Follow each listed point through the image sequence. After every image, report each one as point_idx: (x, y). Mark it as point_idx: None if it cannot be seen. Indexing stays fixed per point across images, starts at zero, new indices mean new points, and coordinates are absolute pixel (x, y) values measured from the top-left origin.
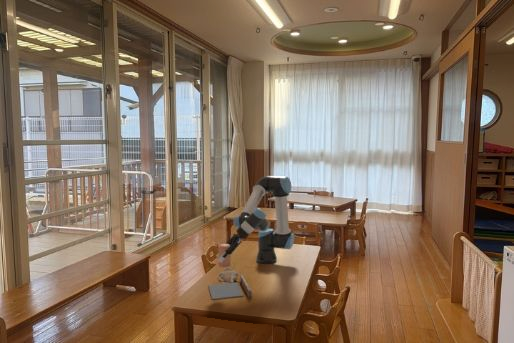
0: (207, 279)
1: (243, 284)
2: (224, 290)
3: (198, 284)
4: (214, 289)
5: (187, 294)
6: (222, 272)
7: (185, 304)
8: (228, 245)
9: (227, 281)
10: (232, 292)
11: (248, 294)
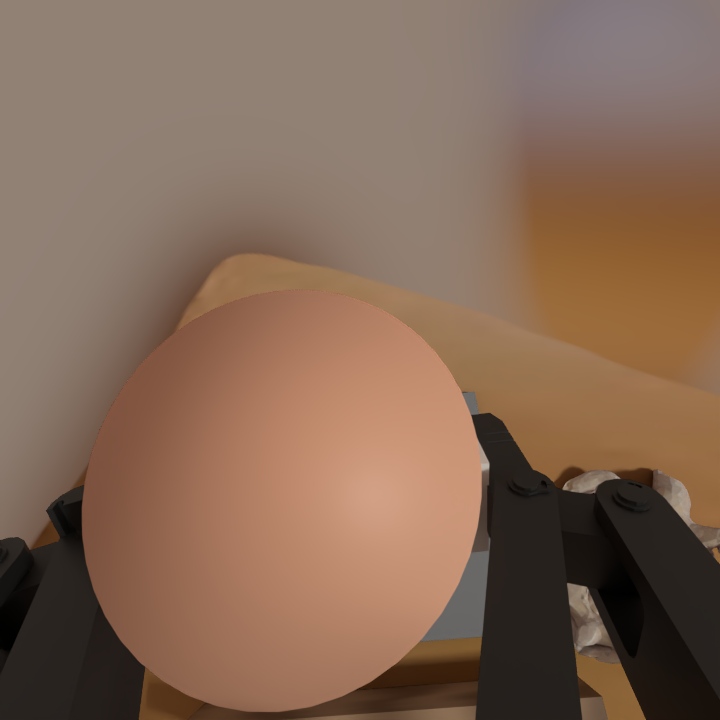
0: (605, 386)
1: (428, 694)
2: None
3: (510, 330)
4: None
5: (363, 281)
6: (674, 502)
7: (240, 282)
8: (227, 631)
9: None
10: None
11: (213, 709)
